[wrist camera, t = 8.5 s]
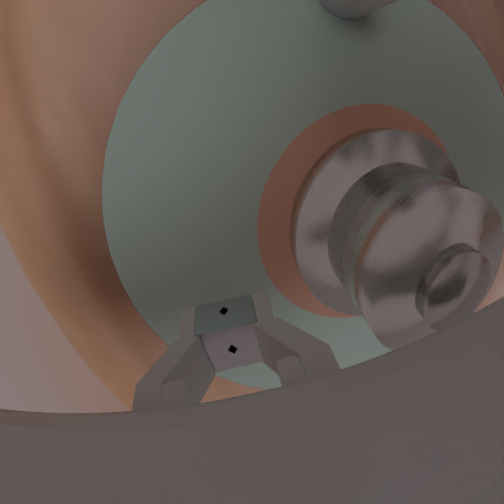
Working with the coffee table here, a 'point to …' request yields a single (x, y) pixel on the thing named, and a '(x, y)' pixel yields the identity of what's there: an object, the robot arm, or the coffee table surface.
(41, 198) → the coffee table surface
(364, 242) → the cover
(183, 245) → the turntable
